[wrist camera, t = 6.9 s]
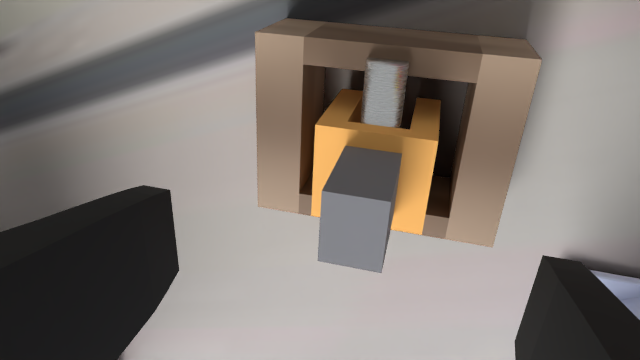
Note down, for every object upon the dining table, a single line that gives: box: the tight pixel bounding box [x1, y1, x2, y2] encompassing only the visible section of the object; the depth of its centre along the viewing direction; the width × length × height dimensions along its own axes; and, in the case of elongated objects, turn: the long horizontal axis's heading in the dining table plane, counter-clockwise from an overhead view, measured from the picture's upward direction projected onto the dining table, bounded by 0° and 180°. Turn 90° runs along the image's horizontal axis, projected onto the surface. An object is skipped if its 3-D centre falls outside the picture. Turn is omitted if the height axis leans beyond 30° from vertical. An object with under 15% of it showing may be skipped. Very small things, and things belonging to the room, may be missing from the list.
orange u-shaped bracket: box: [311, 89, 441, 273], centre depth 14 cm, size 3×3×7 cm
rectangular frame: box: [255, 18, 542, 247], centre depth 15 cm, size 6×8×4 cm
